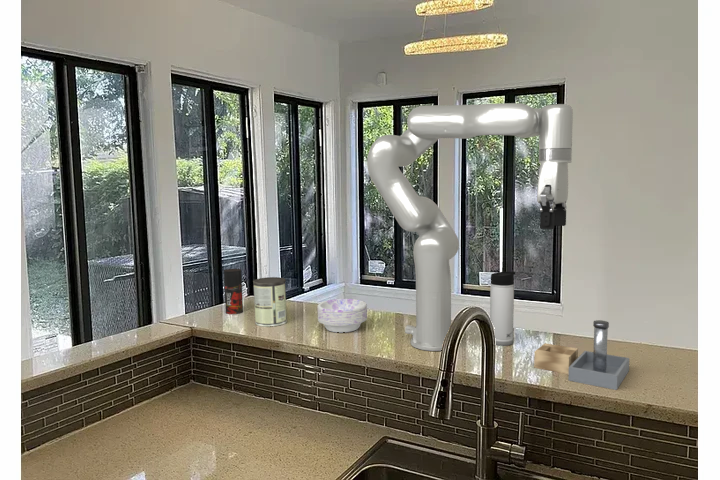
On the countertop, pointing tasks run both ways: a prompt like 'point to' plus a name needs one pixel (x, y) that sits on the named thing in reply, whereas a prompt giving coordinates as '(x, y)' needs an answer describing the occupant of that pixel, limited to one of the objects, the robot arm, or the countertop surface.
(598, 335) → the cylinder
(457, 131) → the robot arm
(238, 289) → the deodorant
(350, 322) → the paper bowls
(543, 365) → the block
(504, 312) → the travel mug
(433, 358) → the countertop surface
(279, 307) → the coffee can
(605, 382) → the tray
